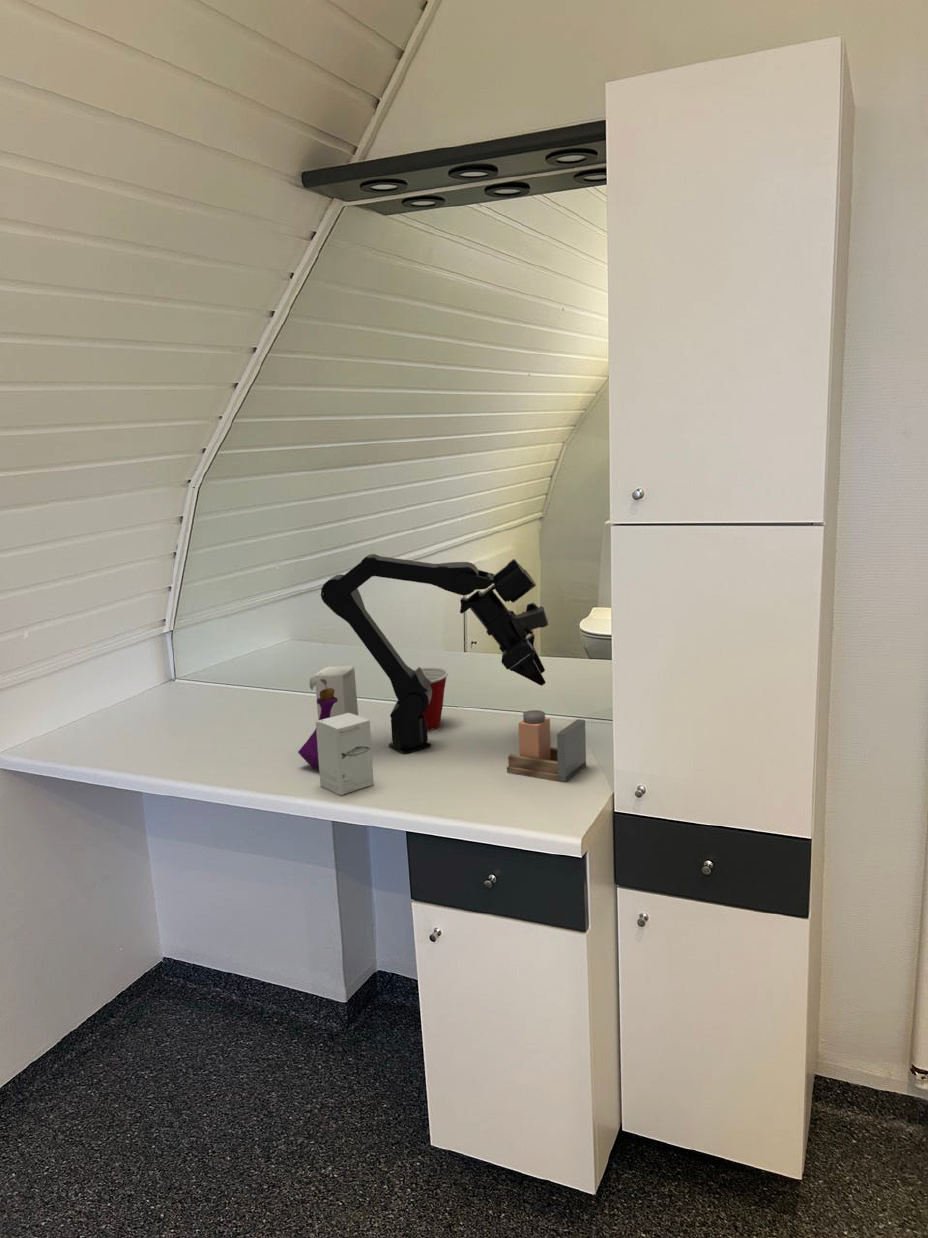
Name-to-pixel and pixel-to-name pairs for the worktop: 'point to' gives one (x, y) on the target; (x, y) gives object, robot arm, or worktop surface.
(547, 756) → the knob slider
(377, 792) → the worktop surface
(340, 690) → the skincare box
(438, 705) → the plastic cup
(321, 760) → the supplement box
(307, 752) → the perfume bottle
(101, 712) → the worktop surface
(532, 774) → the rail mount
